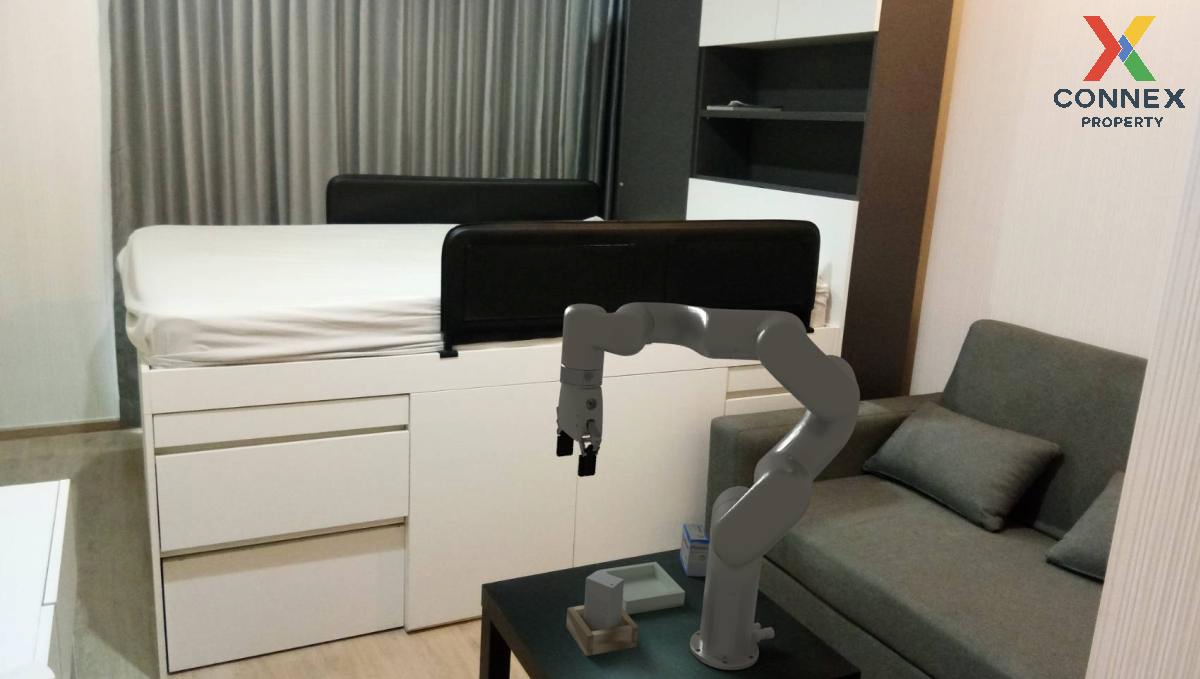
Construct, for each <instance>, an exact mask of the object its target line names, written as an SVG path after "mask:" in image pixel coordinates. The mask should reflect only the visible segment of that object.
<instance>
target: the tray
mask: <svg viewBox="0 0 1200 679" xmlns="http://www.w3.org/2000/svg"><path fill="white" fill-rule="evenodd" d="M599 571H602V572H604V573H607V574H610V575H613V576H615V577H618V578H621V579H624V589H623V602H622V608H623V609H624V611H625V612H626V613H627V614H628V615H629V616H630V615H635V614H641V613H646V612H653V611H659V610H664V609H671V608H676V607H682V606H684V605H685V597H686V596H685V595H686V591H685V590H684V589H683V588H682V587H681V586H680V585H679V584H678V582H676V581H675V579H673V577H672V576H670V575H669V574H668V573H667V571H666V570H665V569H664V568H663V567H662V566H660V564H659V563H658V562H657V561H653V562H646V563H636V564H630V565H625V566H623V565H622V566H617V567H611V568H610V567H609V568H604V569H599Z"/></svg>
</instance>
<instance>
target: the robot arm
mask: <svg viewBox="0 0 1200 679" xmlns="http://www.w3.org/2000/svg"><path fill="white" fill-rule="evenodd" d="M562 325H563V326H562V327H563V328H562V339H561V341H562V344H561V356H560V357H561V358H560V359H561V360H560V371H559V372H560V373H559V382H560V388H559V389H560V390H559V396H558V405H557V406H556V408H555V410H556V420H555V421H556V424H557V429H556V449H555V450H556V452H555V455H556V457H557V458H561V457H569V456H573V454H574V443H575V441H576V442H577V443H578V445H579V449H580V454H578V466H577V475H578V477H579V478H584V477H591V476H595V475H596V471H597V470H596V469H597V468H596V467H597V457H598V455H599V451H600V449H601V443H602V441H603V439H602V438H603V429H604V428H603V424H604V422H603V421H604V399H603V389H602V386H603V378H604V377H603V376H604V364H605V363H604V362H605V352H606V353H608V354H609V353H610V354H612V355H617V356H620V357H630V356H635V355H637V354H639V353H640V352H641V351H642V350H643V349H644V348H645V346H646V344H668V345H674V346H680V347H685V348H688V349H690V350H691V351H694V352H696V354H698V355H700V356H703V357H705V358H708V359H711V360H712V359H713V360H736V361H737V360H738V361H756V362H757V361H759V362H760V364H761V365H762V367H763V368H765V370H767V372H768V373H769V374H770V375H771V376H772V377H773V378H774V379H775V380H776V381H777V382H778V384H780V385H781V386H782V387H783V388H784V389H786V391H787V392H788V393H790V394H791V395H792V397H794V399H795V400H797V401H798V402H799V404H801V405H802V406H803V407H804V408H806V410H805V412H804V414H803V415H802V416H801V418H800V419H799V420H798V421H797V422H796V424H795V425H794V426H793V427H792V428H791V429H790V431H789V432H788V433H786V434H785V435H784V436H783V437H782V438H781V439H780V440H779V441H778V442H777V443H776V444H775V445H774V446H773V447H772V448H771V449H770V450H768V452H767V453H765V454H764V455H763V457H761V458H760V459H759V460H758V462H757V463H756V466H755V468H754V475H753V484H752V485H751V487H747V486H743V485H742V486H741V485H737V486H732V487H729V488H727V489H725V490H724V491H722V492H721V493H720V494H719V495H718V496H717V498H716V499H715V501H714V504H713V506H712V509H711V510H712V512H711V520H710V529H709V540H710V543H709V552H708V561H707V570H706V576H705V580H704V581H705V582H704V591H703V599H702V608H701V609H702V610H701V617H700V618H701V619H700V628H699V630H697V631H696V632H694V633H693V634H692V635H691V638H690V641H689V649H690V652H691V653H692V655H693V656H694V657H695V658H696V659H697V660H699V661H700V662H702V663H703V664H705V665H707V666H709V667H713V668H714V669H719V670H724V671H727V670H728V671H738V670H744V669H747V668H749V667H752V666H753V665H754V664H755V663H757V661H758V659H759V654H760V650H759V646H758V644H757V643H760V642H761V640H769V639H773V638H774V637H775V630H774V629H773V627H771V626H769V627H764V628H762V626H761V623H759V622H755V616H756V608H757V600H758V592H759V591H758V590H759V585H760V584H759V583H760V578H761V577H760V576H761V570H762V569H761V568H762V561H763V556H765V554H767V553H768V552H769V550H771V549H772V548H773V546H775V545H776V544H777V543H778V542H779V541H780V540H781V539H782V538H784V536H786V534H788V533H789V532H790V531H791V530H792V529H793V528H794V527H795V526H796V525H797V524H798V523H799V522H800V520H802V518H803V517H804V516H805V514H806V513H807V511H808V509H809V507H810V504H811V501H812V496H813V493H812V492H813V491H812V484H813V482H814V480H815V479H816V478H817V477H818V476H819V475H820V474H821V473H822V471H823V470H825V468H826V467H827V466H828V465H829V464H830V463H831V462H832V461H833V460H834V459H835V457H837V455H839V453H840V452H841V451H842V449H843V448H844V447H845V445H847V444H848V441H849V440H850V438H851V436H852V434H853V433H854V430H855V426H856V425H857V421H858V417H859V413H860V412H859V411H860V400H861V399H860V398H861V392H860V388H859V385H858V381H857V378H856V375H855V372H854V369H853V368H852V366H851V364H849V363H848V361H846V359H844V358H843V357H840V356H839V355H835V354H826V353H824V351H823V350H822V349H820V347H819V346H818V345H817V344H816V343H815V342H814V341H813V340H812V339H811V338H810V337H809V335H808V332H807V330H806V327H805V325H804V323H803V321H802V320H801V319H800V318H799V316H797V315H795V314H794V313H791V312H788V311H781V310H758V309H757V310H756V309H730V308H729V309H728V308H709V307H703V306H694V305H693V306H692V305H687V304H682V303H681V304H680V303H669V302H645V301H644V302H643V301H642V302H641V301H640V302H637V301H636V302H630V303H626V304H623V305H622V306H620V307H619V308H618V309H617V310H616V311H615V312H609V313H608V312H607V311H606V309H604V307H602V306H599V305H597V304H591V303H576V304H575V303H574V304H570V305H568V306H567V308H565V310H564V313H563V324H562ZM586 443H589V444H588V445H587V446H586Z"/></svg>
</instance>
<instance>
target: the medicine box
mask: <svg viewBox="0 0 1200 679" xmlns="http://www.w3.org/2000/svg"><path fill="white" fill-rule="evenodd" d="M709 543H710V537H709V536H708V534H707V532H706V529H705V528H704V526H703V524H700V523H699V524H698V523H684V524H683V527H682V535H681V542H680V551H679V560H680V563H681V565H682V568H683V570H684V573H685V575H686V576H687V577H706V570H707V561H708V552H709Z"/></svg>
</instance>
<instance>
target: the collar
mask: <svg viewBox="0 0 1200 679" xmlns="http://www.w3.org/2000/svg"><path fill="white" fill-rule="evenodd" d="M566 612H567V613H566V624H565V627H566V629H567V630H568V631H569V633H570V634H571V636H572V638H573V639H574V641H575V642H576V643H577V645H578V646H579V648H580V649H581V651H582V653H583V654H584V655H585V656H586V657H589V656H594V655H595V656H596V655H601V654H605V653H606V654H607V653H610V652H617V651H621V650H628V649H633V648H636V647H637V646H638V637H639V626H638V625H637V624H636V623H635V622H634V620H633V618H631V616H630V615H628V614H627V613H626V612H625V611H624V609H623V608H622V616H621V627H615V628H610V629H604V630H598V631H592V632H591V630H590V629H589V628H588V626H587V625H586V624H585V622H584V621H583V617H584V604H582V605H577V606H570V607H567V610H566Z"/></svg>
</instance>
